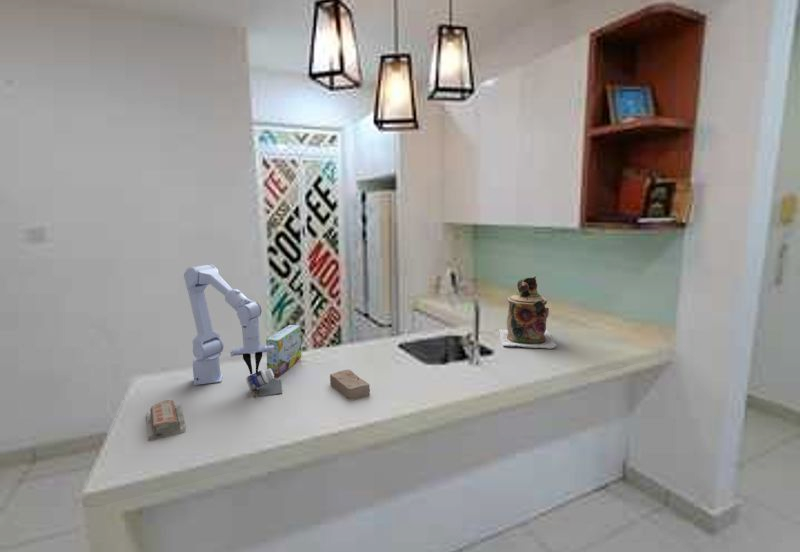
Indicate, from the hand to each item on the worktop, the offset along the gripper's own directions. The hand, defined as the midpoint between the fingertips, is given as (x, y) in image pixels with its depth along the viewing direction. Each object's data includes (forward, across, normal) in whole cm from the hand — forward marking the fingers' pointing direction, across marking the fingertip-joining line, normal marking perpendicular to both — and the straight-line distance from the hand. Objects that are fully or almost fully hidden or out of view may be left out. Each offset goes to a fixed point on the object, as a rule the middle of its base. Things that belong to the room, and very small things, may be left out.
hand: (254, 372), depth 162 cm
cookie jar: (+8, +124, +21) cm, 126 cm away
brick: (+8, +33, -9) cm, 35 cm away
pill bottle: (+4, -2, 0) cm, 5 cm away
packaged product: (+7, -26, -16) cm, 32 cm away
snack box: (+7, +12, +20) cm, 24 cm away
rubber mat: (+7, +5, 0) cm, 9 cm away
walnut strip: (+7, 0, 0) cm, 7 cm away
